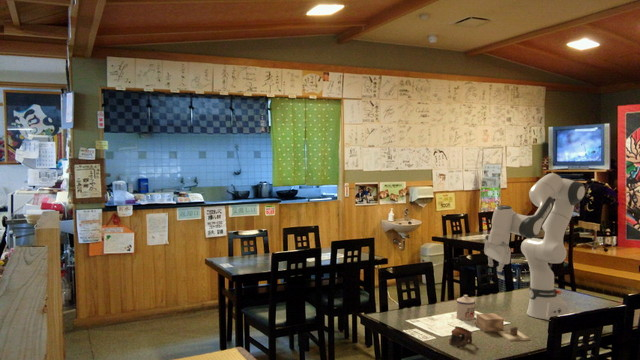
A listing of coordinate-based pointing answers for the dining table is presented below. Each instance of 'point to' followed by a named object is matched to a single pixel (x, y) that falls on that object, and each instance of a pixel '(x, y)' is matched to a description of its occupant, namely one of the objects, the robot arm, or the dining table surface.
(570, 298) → the dining table surface
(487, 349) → the dining table surface
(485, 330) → the box body
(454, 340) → the brown lumpy figurine
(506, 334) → the lid
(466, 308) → the teacup with lid
